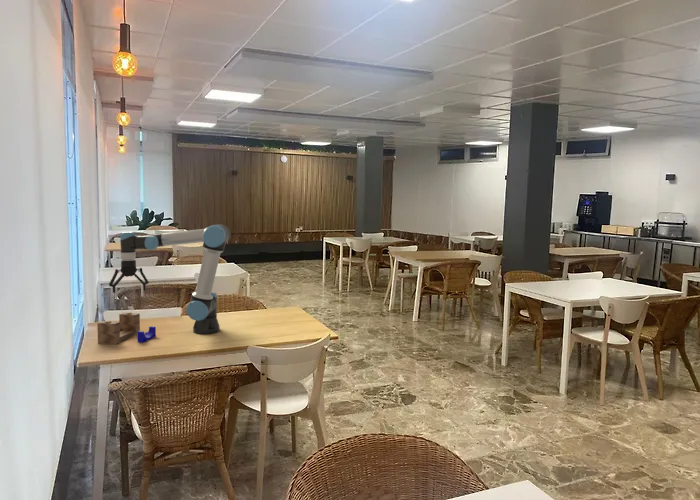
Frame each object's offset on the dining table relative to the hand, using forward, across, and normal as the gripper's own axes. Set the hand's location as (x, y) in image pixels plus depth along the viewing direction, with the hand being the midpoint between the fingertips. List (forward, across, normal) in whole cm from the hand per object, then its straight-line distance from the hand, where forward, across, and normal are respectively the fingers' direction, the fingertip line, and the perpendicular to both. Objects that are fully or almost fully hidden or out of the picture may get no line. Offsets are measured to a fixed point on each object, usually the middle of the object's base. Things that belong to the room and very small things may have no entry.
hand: (129, 297), depth 282 cm
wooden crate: (+22, +6, +2) cm, 22 cm away
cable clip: (+22, -6, +12) cm, 26 cm away
